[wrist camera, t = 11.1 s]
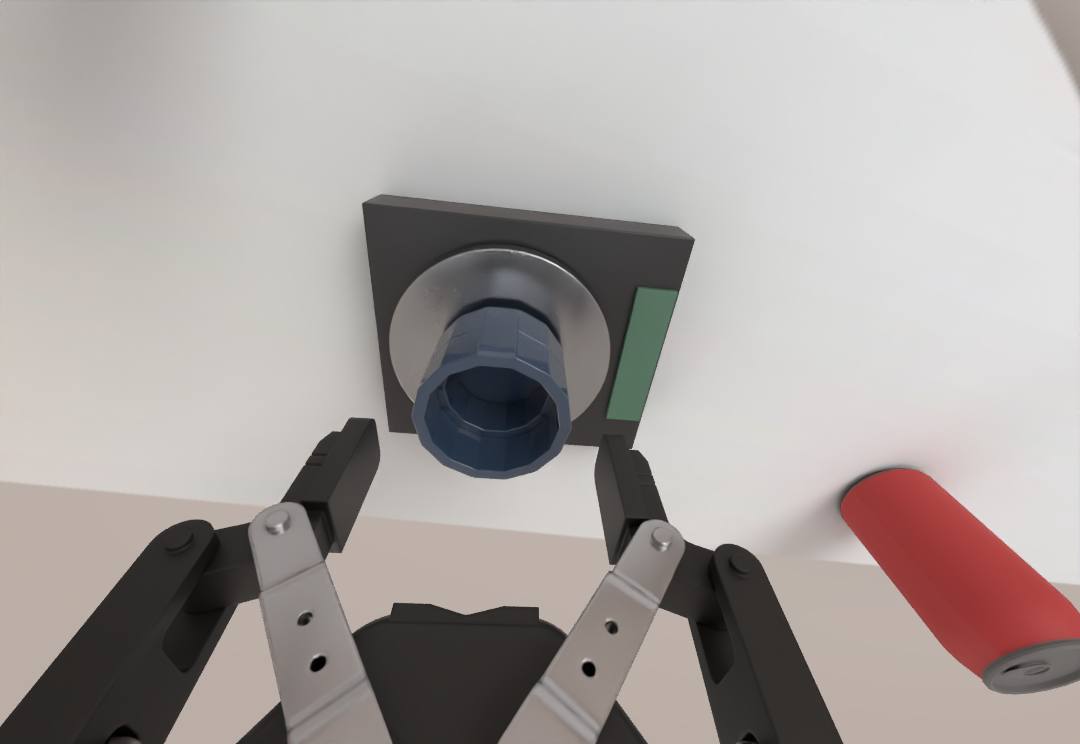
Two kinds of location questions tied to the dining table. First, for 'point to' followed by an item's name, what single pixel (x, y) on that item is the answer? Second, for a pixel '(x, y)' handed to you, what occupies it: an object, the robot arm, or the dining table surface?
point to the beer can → (966, 583)
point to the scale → (575, 241)
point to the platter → (503, 284)
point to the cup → (494, 395)
